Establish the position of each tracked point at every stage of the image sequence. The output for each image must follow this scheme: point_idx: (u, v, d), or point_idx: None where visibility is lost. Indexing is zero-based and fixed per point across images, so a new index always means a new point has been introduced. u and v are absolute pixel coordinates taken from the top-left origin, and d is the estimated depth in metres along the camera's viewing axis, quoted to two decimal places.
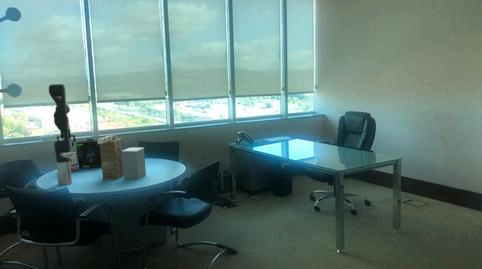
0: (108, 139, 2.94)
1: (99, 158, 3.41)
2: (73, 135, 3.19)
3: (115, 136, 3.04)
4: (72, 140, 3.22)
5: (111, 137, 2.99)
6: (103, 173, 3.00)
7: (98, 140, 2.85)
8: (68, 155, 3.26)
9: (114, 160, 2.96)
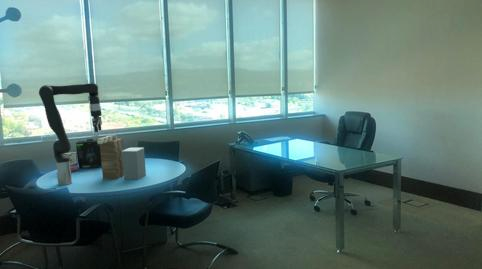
0: (108, 139, 2.94)
1: (99, 158, 3.41)
2: (92, 118, 2.82)
3: (115, 136, 3.04)
4: None
5: (111, 137, 2.99)
6: (103, 173, 3.00)
7: (98, 140, 2.85)
8: (68, 155, 3.26)
9: (114, 160, 2.96)
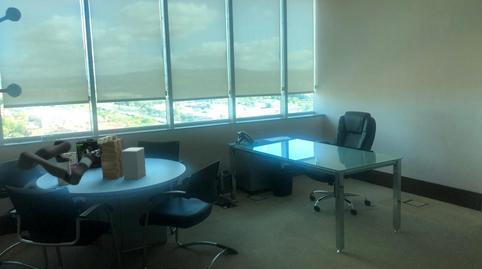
0: (108, 139, 2.94)
1: (99, 158, 3.41)
2: (81, 154, 2.73)
3: (115, 136, 3.04)
4: None
5: (111, 137, 2.99)
6: (103, 173, 3.00)
7: (98, 140, 2.85)
8: (68, 155, 3.26)
9: (114, 160, 2.96)
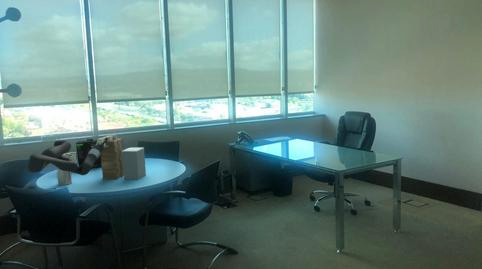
0: (108, 139, 2.94)
1: (99, 158, 3.41)
2: (91, 145, 2.85)
3: (115, 136, 3.04)
4: None
5: (111, 137, 2.99)
6: (103, 173, 3.00)
7: (98, 140, 2.85)
8: (68, 155, 3.26)
9: (114, 160, 2.96)
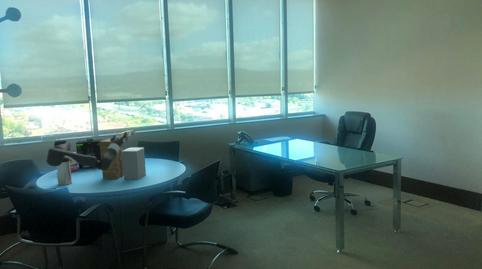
0: (127, 134, 2.91)
1: (99, 158, 3.41)
2: (110, 139, 2.81)
3: (134, 131, 3.00)
4: None
5: (130, 132, 2.95)
6: (103, 173, 3.00)
7: (117, 135, 2.81)
8: None
9: (114, 160, 2.96)
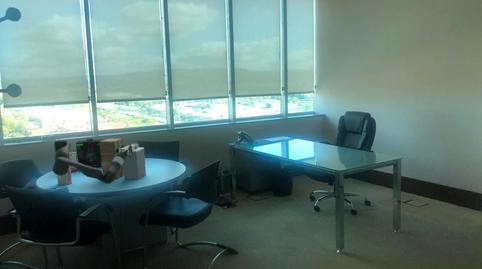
0: None
1: (99, 158, 3.41)
2: (113, 153, 2.82)
3: (137, 145, 3.02)
4: None
5: (133, 146, 2.97)
6: (103, 173, 3.00)
7: (121, 150, 2.83)
8: None
9: None
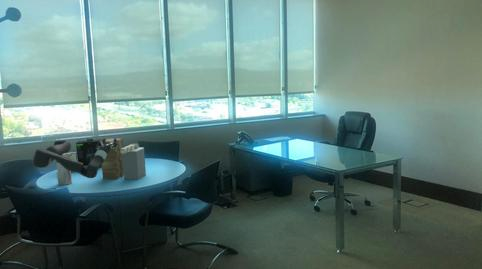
0: (130, 148, 2.92)
1: None
2: (96, 147, 2.71)
3: (137, 145, 3.02)
4: (101, 144, 2.76)
5: (133, 146, 2.97)
6: (103, 173, 3.00)
7: (121, 150, 2.83)
8: (68, 155, 3.26)
9: (114, 160, 2.96)
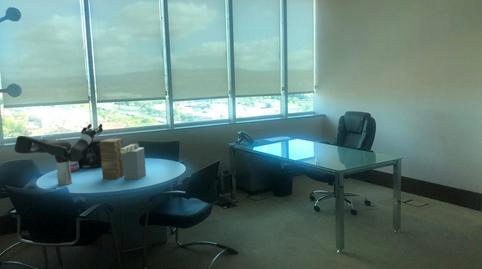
0: (130, 148, 2.92)
1: (99, 158, 3.41)
2: (81, 132, 2.71)
3: (137, 145, 3.02)
4: None
5: (133, 146, 2.97)
6: (103, 173, 3.00)
7: (121, 150, 2.83)
8: None
9: (114, 160, 2.96)
